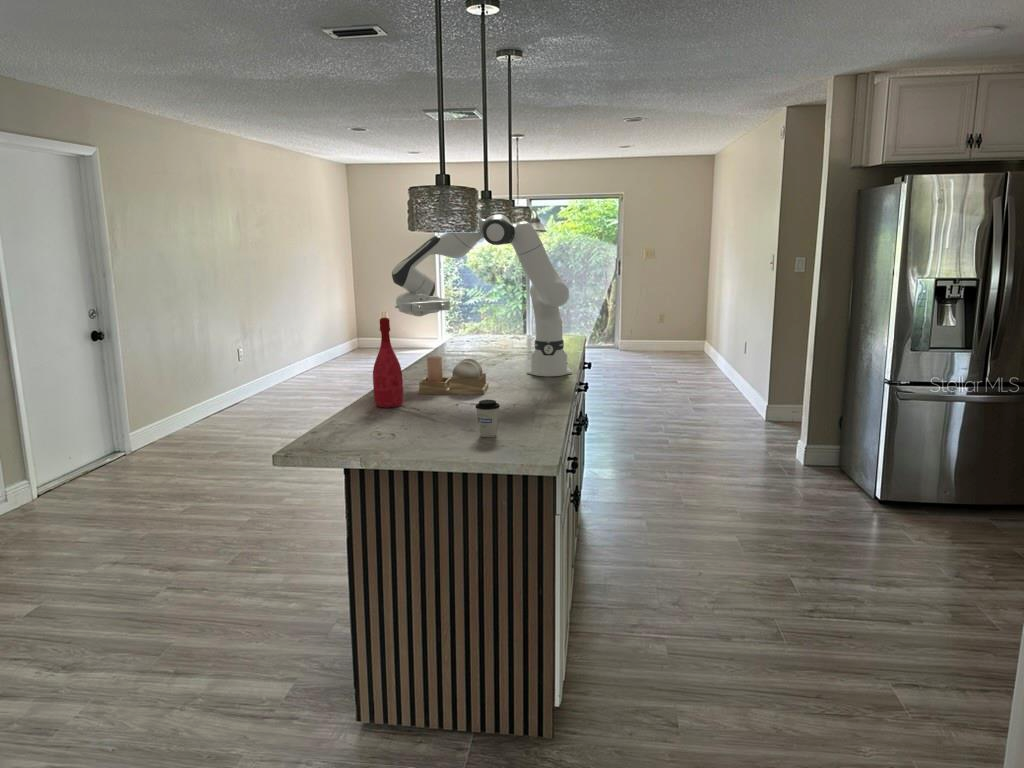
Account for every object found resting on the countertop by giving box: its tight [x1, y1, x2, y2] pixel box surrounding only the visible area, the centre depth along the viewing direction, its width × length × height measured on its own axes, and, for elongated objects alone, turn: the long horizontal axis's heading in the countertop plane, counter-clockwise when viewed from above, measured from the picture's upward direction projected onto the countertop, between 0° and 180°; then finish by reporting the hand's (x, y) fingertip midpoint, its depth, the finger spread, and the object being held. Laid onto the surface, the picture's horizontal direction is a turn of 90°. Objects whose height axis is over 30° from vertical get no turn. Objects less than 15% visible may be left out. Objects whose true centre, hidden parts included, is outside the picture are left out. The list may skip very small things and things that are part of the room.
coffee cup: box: [475, 399, 501, 438], centre depth 194 cm, size 7×7×10 cm
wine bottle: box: [372, 317, 404, 409], centre depth 231 cm, size 10×10×30 cm
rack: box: [418, 357, 489, 395], centre depth 255 cm, size 13×24×12 cm, turn 84°
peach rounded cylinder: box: [426, 355, 444, 382], centre depth 255 cm, size 6×6×11 cm
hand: (432, 307), depth 261 cm, fingers open, 8 cm apart
